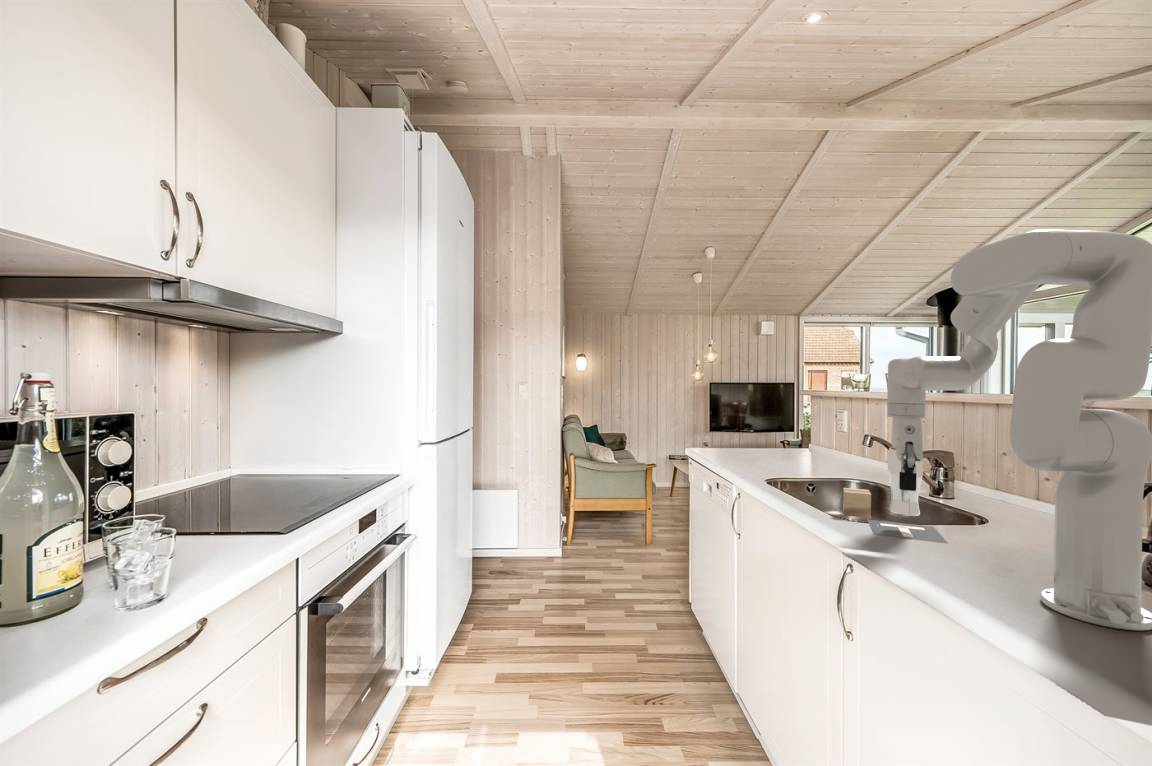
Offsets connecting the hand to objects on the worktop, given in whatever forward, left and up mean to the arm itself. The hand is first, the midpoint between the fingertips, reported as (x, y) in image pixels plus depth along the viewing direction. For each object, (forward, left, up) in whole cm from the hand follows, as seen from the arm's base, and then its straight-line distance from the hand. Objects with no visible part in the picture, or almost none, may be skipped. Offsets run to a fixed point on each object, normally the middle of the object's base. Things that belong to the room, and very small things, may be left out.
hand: (904, 486), depth 119 cm
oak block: (+12, +9, -11) cm, 19 cm away
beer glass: (0, 0, -6) cm, 6 cm away
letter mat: (0, 0, -11) cm, 11 cm away
